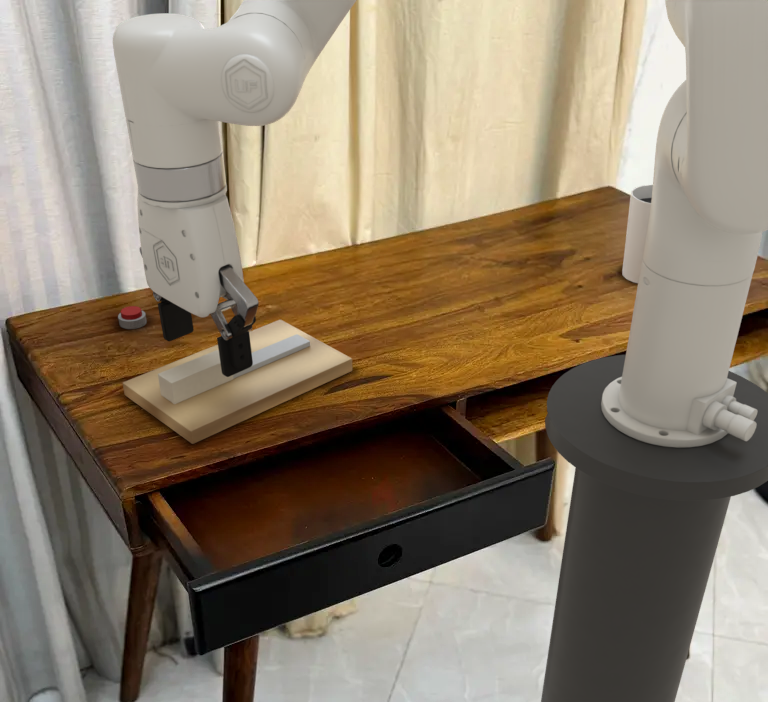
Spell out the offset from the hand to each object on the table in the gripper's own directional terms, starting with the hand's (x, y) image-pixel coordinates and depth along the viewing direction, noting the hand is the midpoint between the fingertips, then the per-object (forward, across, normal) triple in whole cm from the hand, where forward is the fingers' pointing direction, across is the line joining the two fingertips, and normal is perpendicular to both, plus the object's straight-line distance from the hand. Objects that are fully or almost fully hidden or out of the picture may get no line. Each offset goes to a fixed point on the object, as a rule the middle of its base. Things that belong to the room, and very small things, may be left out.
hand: (207, 353), depth 95 cm
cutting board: (+5, -1, +4) cm, 7 cm away
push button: (+5, -20, +3) cm, 21 cm away
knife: (+4, -1, +3) cm, 5 cm away
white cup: (+6, +12, +56) cm, 57 cm away
